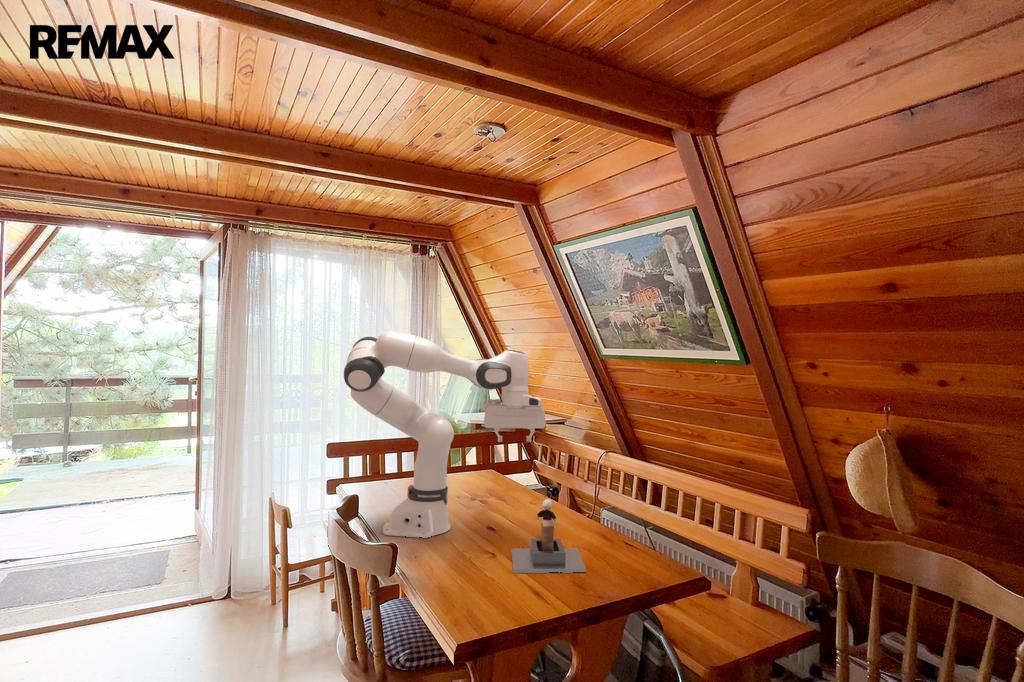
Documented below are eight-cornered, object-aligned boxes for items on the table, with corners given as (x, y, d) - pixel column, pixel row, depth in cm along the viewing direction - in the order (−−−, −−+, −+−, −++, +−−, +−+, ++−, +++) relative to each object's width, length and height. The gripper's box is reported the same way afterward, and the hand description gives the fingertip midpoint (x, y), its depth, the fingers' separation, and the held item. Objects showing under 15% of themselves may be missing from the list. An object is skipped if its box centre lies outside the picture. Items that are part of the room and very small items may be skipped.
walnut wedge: (542, 561, 152) (543, 526, 152) (541, 554, 157) (541, 520, 157) (553, 561, 152) (553, 526, 152) (551, 554, 157) (551, 520, 157)
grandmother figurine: (559, 537, 175) (560, 498, 175) (556, 541, 171) (557, 502, 171) (537, 534, 177) (537, 496, 178) (533, 538, 174) (534, 499, 174)
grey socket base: (513, 573, 147) (514, 555, 147) (511, 552, 162) (511, 536, 162) (586, 572, 148) (586, 555, 148) (577, 552, 163) (577, 536, 163)
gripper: (483, 400, 172) (482, 443, 172) (546, 400, 173) (546, 443, 173) (483, 398, 178) (482, 439, 178) (544, 398, 179) (544, 440, 179)
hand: (514, 441), depth 175 cm, fingers open, 8 cm apart
